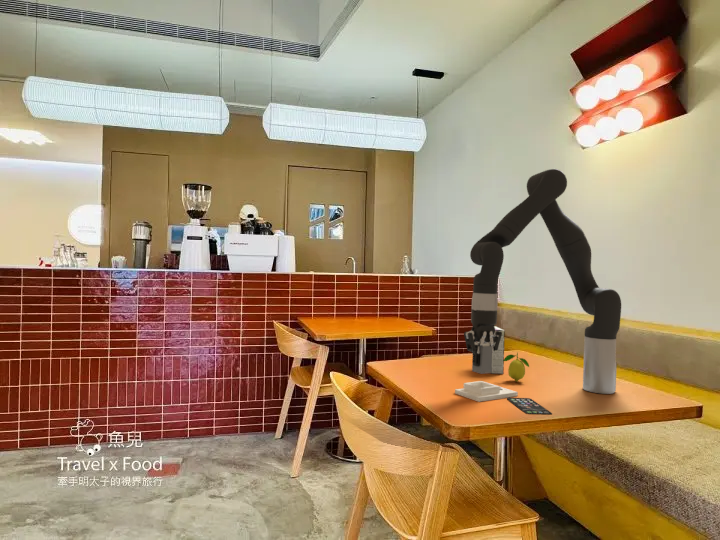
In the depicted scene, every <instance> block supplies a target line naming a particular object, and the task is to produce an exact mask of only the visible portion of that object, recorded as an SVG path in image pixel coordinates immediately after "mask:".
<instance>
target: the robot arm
mask: <svg viewBox="0 0 720 540" xmlns="http://www.w3.org/2000/svg"><path fill="white" fill-rule="evenodd" d="M567 186H568V180H567V177H566V174H565V173H564V172H563V171H562V170H561V169H557V168H551V169H545V170H543V171H541V172H538V173H536V174H533V175H531V176H529V178H528V180H527V183H526V191H527V194H528V196H527V197H526V198H525V199H524V200H522V202H520V203H519V204H518V205H516V206H515V207H513V208H512V209H511V210H510V211H509V212H508V213H506V215H504V217H503V218H501V220H499V222H498V223H497V224H496V225H495V226H494V227H493V229H492V230H490V231H489V232H488V233H486V234H484V236H483V237H481V238H480V239H478V240H477V241H476V242H475V243H474V245H473V246H472V248H471V249H470V255H469V256H470V260H471V261H472V263H473V264H475V265H477V266H481V269H480V272H479V273H477V274H475V275H474V276H473V282H472V284H473V286H472V297H471V314H470V322H471V324H472V327H471V330H469V331H464V333H463V337H464V341H465V345H466V350H467V351H468V352H471V353H472V363H473V365H474V366H480V351H481V346H483V344H484V342H486V343H490V346H493V347H492V353H493V351H495V350H496V351H497V350H498V347H499V343H500V339H501V336H502V332H500V331H496V330H495V327H496V325H497V323H498V305H499V304H498V303H499V302H498V280H499V276H500V274H501V271H502V267H503V263H504V257H505V255H504V250H503V248H505V247H508V246H510V245H511V244H512V243H513V242H514V241H515V240H516V239H517V238H518V237H519V235H520V234H521V233H522V232H524V230H525V228H526V227H527V226H528V225H530V223H531V222H532V221H533V220H534V219H535V218H536V217H537V216H538V215H540V216H541V218H542V220H543V222H544V225H545V226H546V229H547V231H548V232H549V234H550V236H551V238H552V240H553V242H554V245H555V247H556V249H557V251H558V254H559V256H560V258H561V259H562V260H561V261H563V263H564V266H565V268H566V270H567V272H568V275H569V277H570V280H571V281H572V284H573V286H574V289H575V292H576V295H577V299H578V301H579V304H580V307H581V308H582V310H583V311H584V312H585V313H586V314H587V315H590V316H593V322H592V323H591V324H590V326H586V327H585V328H584V336H583V337H584V338H583V339H584V342H583V344H584V345H583V371H582V372H583V374H582V389H583V390H584V391H587V392H591V393H596V394H603V395H609V394H610V395H612V394H615V392H616V389H617V361H616V360H617V359H616V358H617V356H616V355H617V353H616V352H617V335H618V332H619V330H620V327H621V326H620V325H621V317H622V316H621V315H622V299H621V295H620V294H619V293H618V292H617V291H616V290H615V289H612V288H607V287H606V288H603V287H600V286H599V284H597V281H596V279H595V277H594V276H593V272H592V249H591V246H590V243H589V240H588V239H587V237H586V235H585V232H584V230H582V228H581V227H580V226H579V224H577V223H576V222H575V221H574V220H573V219H571V218H570V216H568V215H567V214H566V213H565V212H564V210H562V208H561V206H560V205H559V204H558V201H557V199H558V198H559V197H561V196H562V195H563V194H564V193H565V192H566V189H567ZM494 326H495V327H494ZM477 342H479V343H477ZM494 343H495V346H494ZM476 345H477V349H476Z"/></svg>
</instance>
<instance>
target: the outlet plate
mask: <svg viewBox="0 0 720 540" xmlns="http://www.w3.org/2000/svg"><path fill="white" fill-rule="evenodd" d="M454 394H456V395H459V396H460V397H461V396H462V397H463V398H467V399H470V400H472V401H476V402H477V403H479V402H486V401H493V400H494V401H495V400H500V399H507V398H515V397H518V394H519V392H518V391H515V390H512V389H510V388H509V389H508V388H506V387H502V386H500V385H497V384H493V383H490V382H487V381H483V380H477V381H472V382H471V381H470V382H463V388H458V389H457V388H455V389H454Z"/></svg>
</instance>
